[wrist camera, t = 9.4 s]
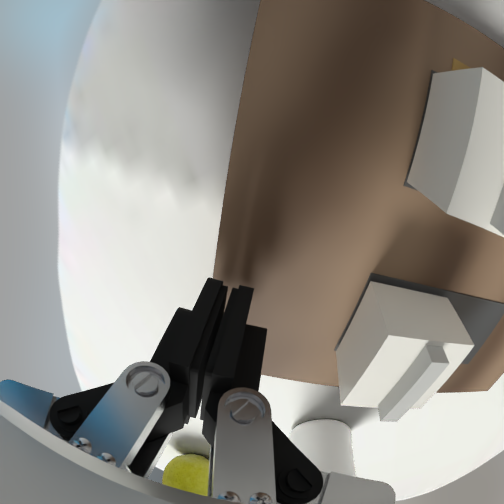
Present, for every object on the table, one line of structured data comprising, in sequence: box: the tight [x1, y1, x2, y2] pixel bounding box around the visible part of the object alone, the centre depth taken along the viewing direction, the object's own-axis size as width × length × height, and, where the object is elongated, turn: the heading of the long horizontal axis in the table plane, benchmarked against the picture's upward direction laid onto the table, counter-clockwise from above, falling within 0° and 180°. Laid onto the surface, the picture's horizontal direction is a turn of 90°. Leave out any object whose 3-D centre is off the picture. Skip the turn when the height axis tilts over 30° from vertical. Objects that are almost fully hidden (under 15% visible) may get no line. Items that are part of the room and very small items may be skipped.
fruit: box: [162, 454, 209, 496], centre depth 22 cm, size 7×7×12 cm
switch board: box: [213, 0, 504, 393], centre depth 11 cm, size 20×18×2 cm
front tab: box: [407, 67, 504, 237], centre depth 6 cm, size 4×4×4 cm
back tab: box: [336, 281, 475, 421], centre depth 10 cm, size 4×4×4 cm
